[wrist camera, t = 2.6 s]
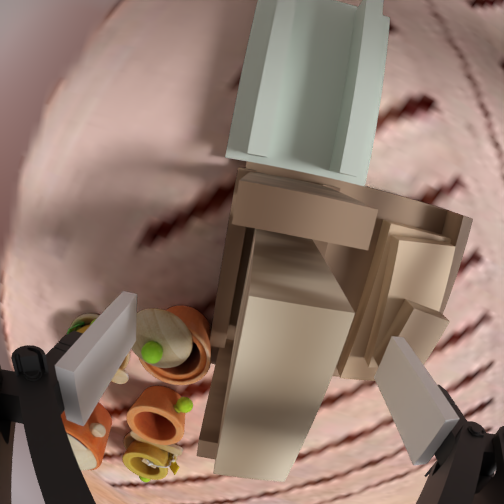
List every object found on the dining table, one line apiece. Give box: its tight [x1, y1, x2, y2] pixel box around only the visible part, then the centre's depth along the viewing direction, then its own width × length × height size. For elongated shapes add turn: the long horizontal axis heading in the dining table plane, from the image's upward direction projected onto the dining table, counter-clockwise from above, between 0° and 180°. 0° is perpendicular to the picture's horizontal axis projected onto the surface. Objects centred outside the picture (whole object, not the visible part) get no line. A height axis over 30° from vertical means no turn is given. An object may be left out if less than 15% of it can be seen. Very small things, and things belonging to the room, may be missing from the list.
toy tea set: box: [61, 305, 211, 482], centre depth 25 cm, size 26×16×10 cm, turn 159°
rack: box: [197, 161, 473, 459], centre depth 19 cm, size 17×16×12 cm
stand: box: [225, 0, 390, 186], centre depth 19 cm, size 10×14×4 cm
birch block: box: [213, 228, 355, 482], centre depth 17 cm, size 3×9×14 cm, turn 170°
